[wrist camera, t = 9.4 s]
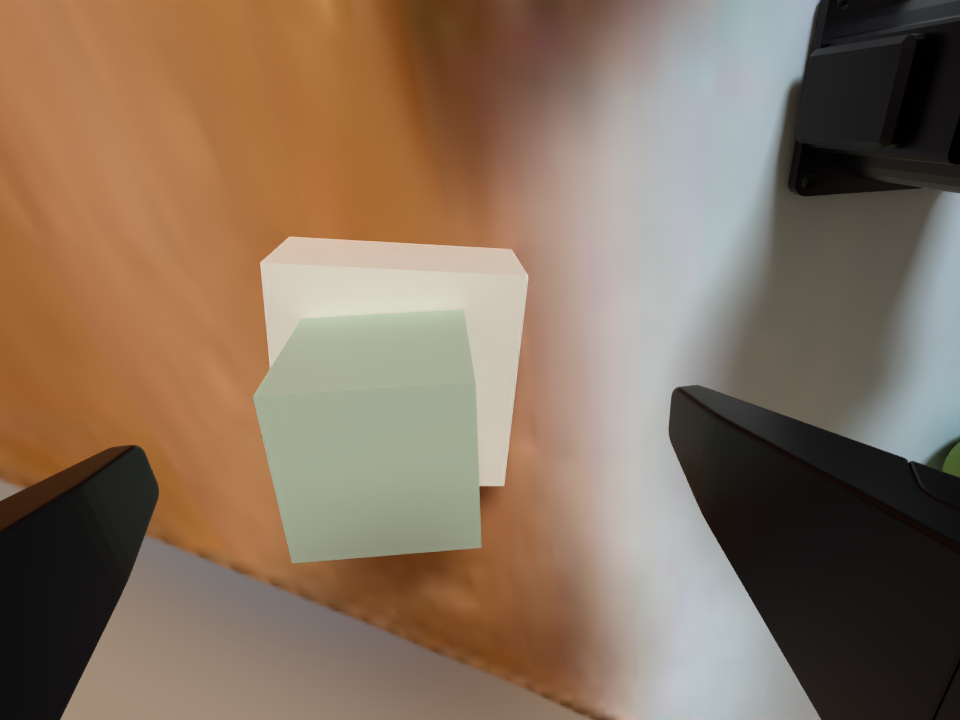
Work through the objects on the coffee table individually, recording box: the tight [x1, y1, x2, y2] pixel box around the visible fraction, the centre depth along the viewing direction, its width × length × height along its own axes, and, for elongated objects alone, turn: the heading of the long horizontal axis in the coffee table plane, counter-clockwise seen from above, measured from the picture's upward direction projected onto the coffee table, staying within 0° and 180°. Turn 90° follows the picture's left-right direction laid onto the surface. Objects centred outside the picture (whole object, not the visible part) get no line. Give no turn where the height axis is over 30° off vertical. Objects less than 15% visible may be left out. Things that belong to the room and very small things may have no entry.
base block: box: [260, 237, 529, 486], centre depth 20 cm, size 8×8×4 cm
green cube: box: [253, 310, 481, 564], centre depth 15 cm, size 5×5×5 cm
